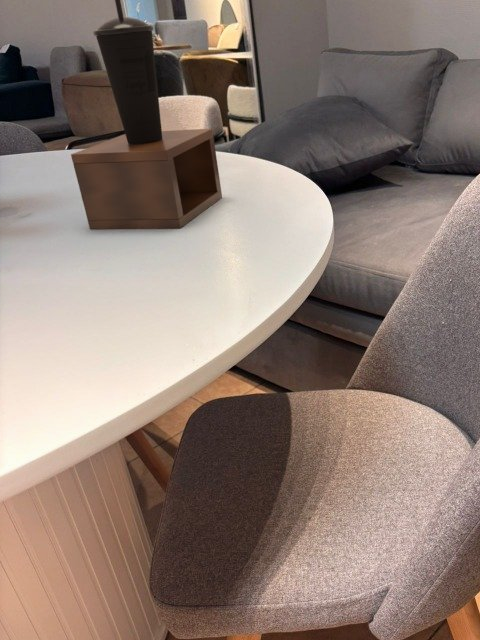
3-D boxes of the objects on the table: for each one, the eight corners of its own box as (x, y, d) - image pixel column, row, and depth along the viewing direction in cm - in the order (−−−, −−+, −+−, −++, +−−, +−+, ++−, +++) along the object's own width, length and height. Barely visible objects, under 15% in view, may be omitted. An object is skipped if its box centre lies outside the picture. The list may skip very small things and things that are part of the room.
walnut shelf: (89, 228, 90) (70, 154, 85) (141, 199, 103) (127, 132, 98) (180, 228, 86) (166, 150, 81) (222, 197, 99) (212, 128, 94)
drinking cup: (168, 133, 93) (139, -31, 83) (176, 140, 87) (145, -37, 77) (115, 140, 92) (78, -26, 81) (119, 148, 85) (80, -32, 75)
